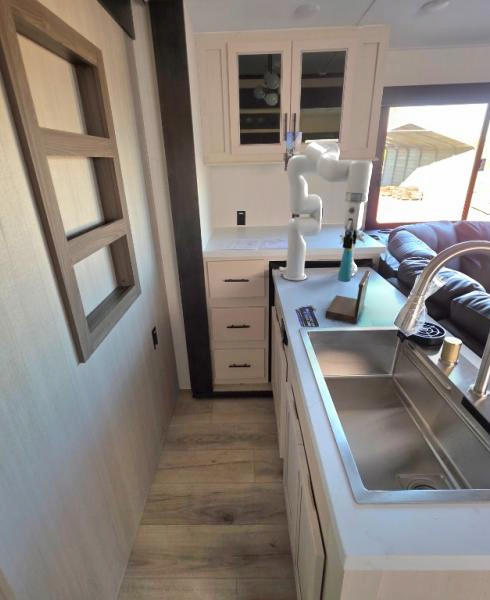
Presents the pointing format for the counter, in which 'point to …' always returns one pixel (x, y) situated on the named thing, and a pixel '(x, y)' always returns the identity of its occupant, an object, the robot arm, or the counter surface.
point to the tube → (346, 265)
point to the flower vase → (360, 238)
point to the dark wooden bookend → (349, 304)
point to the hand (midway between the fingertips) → (349, 245)
